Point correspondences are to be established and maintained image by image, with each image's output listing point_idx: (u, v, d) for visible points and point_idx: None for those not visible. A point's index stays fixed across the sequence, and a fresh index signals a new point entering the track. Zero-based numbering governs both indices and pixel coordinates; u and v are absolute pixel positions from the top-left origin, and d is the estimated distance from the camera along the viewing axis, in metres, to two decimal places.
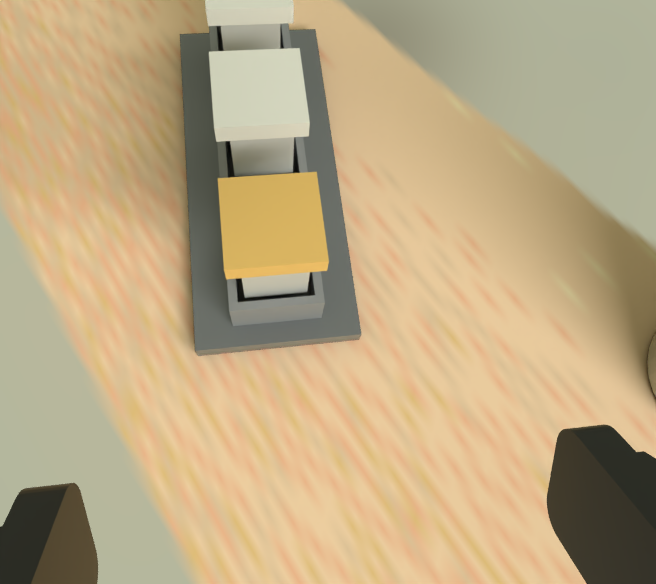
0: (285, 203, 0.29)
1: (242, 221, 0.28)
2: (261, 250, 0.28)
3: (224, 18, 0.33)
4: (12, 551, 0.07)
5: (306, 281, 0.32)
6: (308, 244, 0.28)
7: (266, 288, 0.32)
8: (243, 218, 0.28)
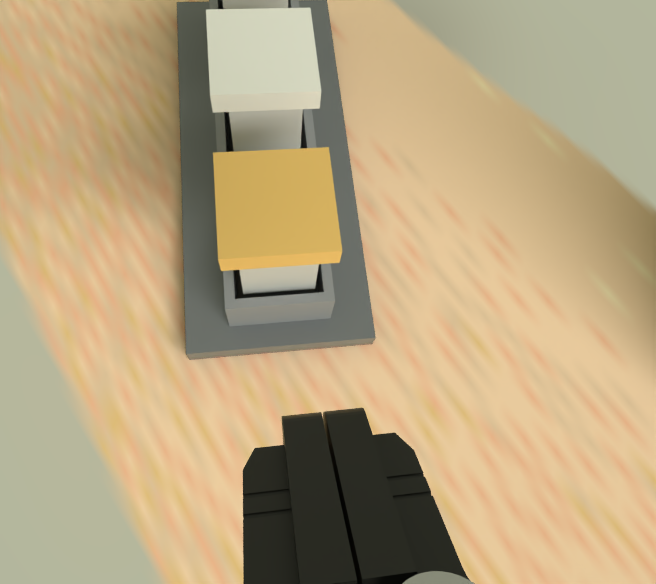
0: (291, 183, 0.24)
1: (241, 202, 0.24)
2: (262, 237, 0.23)
3: None
4: (305, 459, 0.09)
5: (314, 275, 0.28)
6: (318, 231, 0.24)
7: (268, 282, 0.28)
8: (242, 199, 0.24)
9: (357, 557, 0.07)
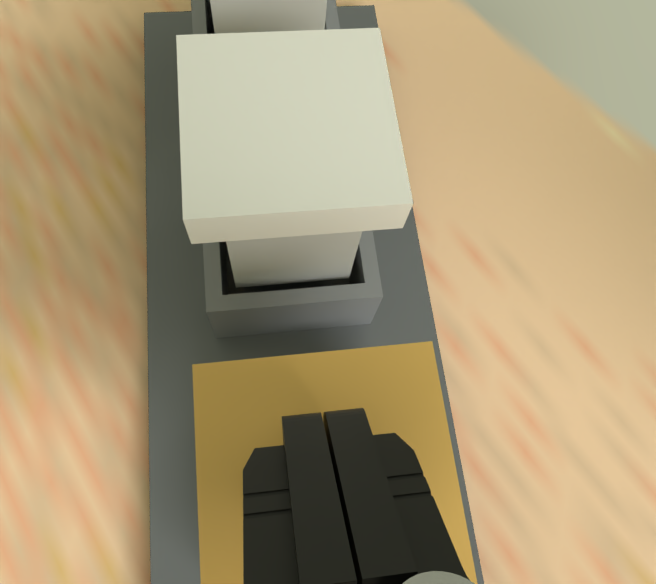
0: None
1: None
2: None
3: None
4: (305, 459, 0.09)
5: None
6: None
7: None
8: None
9: (357, 557, 0.07)
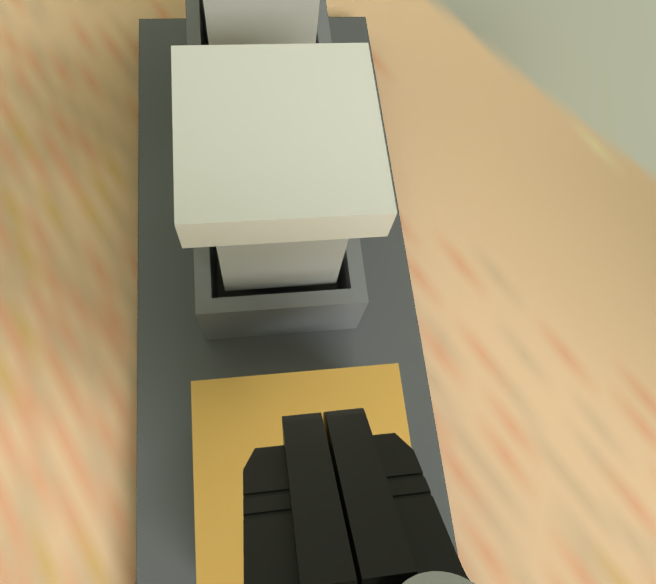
0: None
1: (242, 487, 0.13)
2: None
3: None
4: (305, 459, 0.09)
5: None
6: None
7: None
8: None
9: (357, 557, 0.07)
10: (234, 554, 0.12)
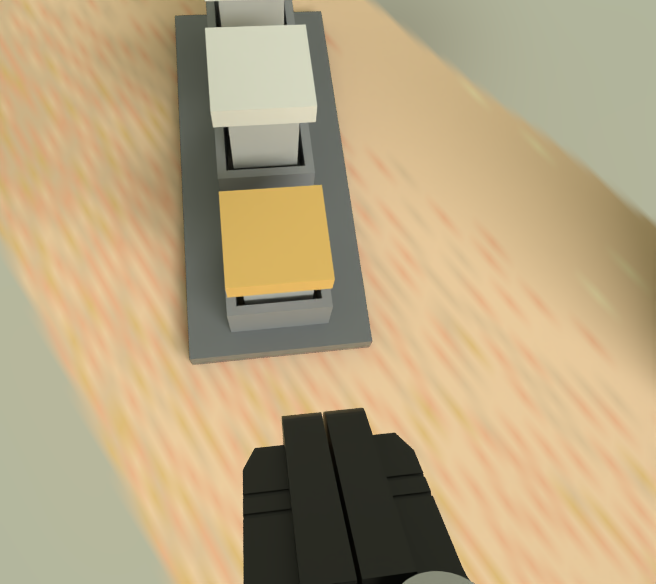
0: (289, 218, 0.27)
1: (244, 236, 0.27)
2: (264, 267, 0.26)
3: None
4: (305, 459, 0.09)
5: (310, 297, 0.31)
6: (313, 261, 0.27)
7: None
8: (245, 233, 0.27)
9: (357, 557, 0.07)
10: (241, 263, 0.26)
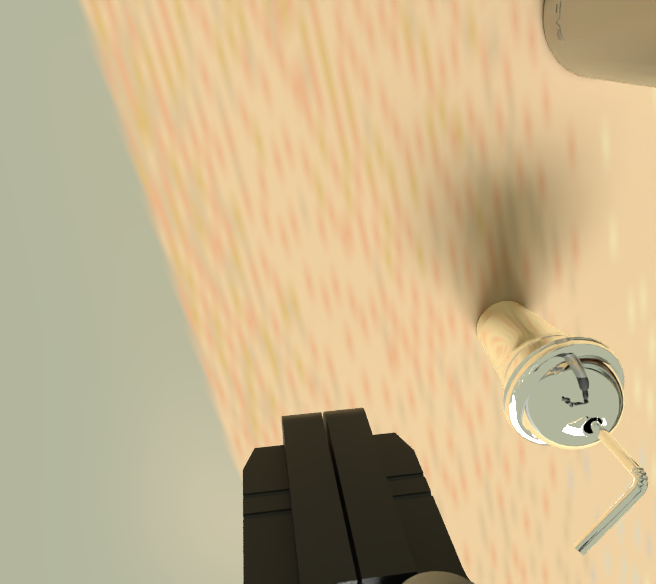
0: None
1: None
2: None
3: None
4: (305, 459, 0.09)
5: None
6: None
7: None
8: None
9: (357, 557, 0.07)
10: None
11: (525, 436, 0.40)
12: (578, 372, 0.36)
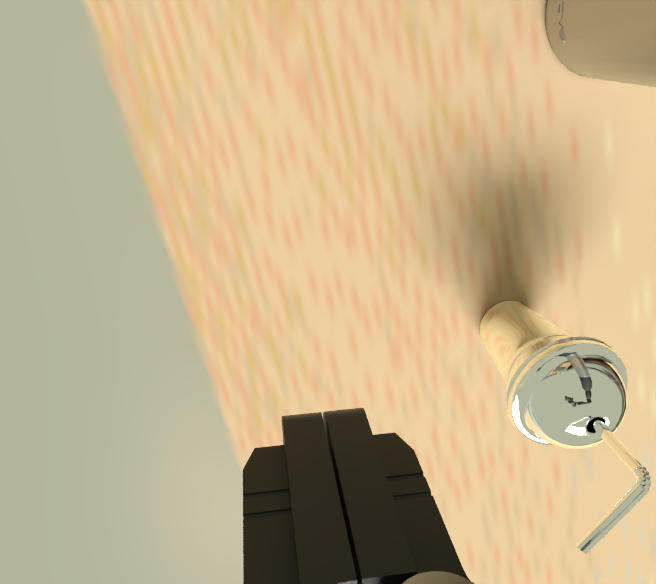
0: None
1: None
2: None
3: None
4: (305, 459, 0.09)
5: None
6: None
7: None
8: None
9: (357, 557, 0.07)
10: None
11: (528, 436, 0.40)
12: (581, 372, 0.36)
